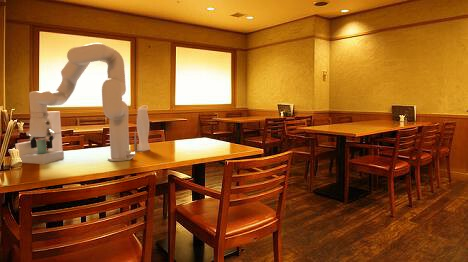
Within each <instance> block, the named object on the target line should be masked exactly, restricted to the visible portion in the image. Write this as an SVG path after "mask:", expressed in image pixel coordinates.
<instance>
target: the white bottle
mask: <svg viewBox="0 0 468 262" xmlns="http://www.w3.org/2000/svg"><path fill="white" fill-rule="evenodd" d="M148 108H149V105H147V104H144V105H141V106H139V108H137V113H136V131H137V134H136V132H134V138H133V140H134V144H133V146H134V149H133V152H139V153H142V152H149V151H151V147H150V144H149V140H148V139H149V134H150V117H149V115H148V113H149V112H148ZM137 136H138V137H137ZM137 138H138V140H139V142H138V141H137ZM137 143H138V144H137Z"/></svg>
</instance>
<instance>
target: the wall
mask: <svg viewBox="0 0 468 262" xmlns="http://www.w3.org/2000/svg"><path fill="white" fill-rule="evenodd" d="M35 140H36V141H37V140H38V139H35ZM14 145H15V150H16V149H18V150H19V156H20V155H22V154H27V153H31V152H36V151H38V149H37V147H36V148H31V141H30V140H29V141H23V142H18V143H15V144H14Z"/></svg>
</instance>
